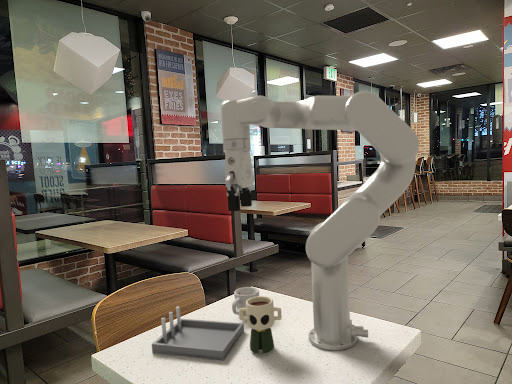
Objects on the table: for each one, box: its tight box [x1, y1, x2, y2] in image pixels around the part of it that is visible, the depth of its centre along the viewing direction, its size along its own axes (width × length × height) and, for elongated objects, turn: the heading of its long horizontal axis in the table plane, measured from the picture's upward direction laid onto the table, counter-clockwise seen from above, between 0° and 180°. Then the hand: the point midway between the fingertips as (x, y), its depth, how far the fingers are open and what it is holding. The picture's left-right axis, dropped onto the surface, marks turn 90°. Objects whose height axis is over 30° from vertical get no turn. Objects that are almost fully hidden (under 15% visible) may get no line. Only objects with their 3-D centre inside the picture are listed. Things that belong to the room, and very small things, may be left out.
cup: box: [231, 286, 260, 317], centre depth 117 cm, size 11×8×8 cm
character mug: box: [238, 295, 282, 355], centre depth 95 cm, size 11×7×13 cm, turn 83°
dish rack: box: [151, 305, 245, 362], centre depth 101 cm, size 20×16×8 cm
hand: (240, 208), depth 103 cm, fingers open, 9 cm apart
